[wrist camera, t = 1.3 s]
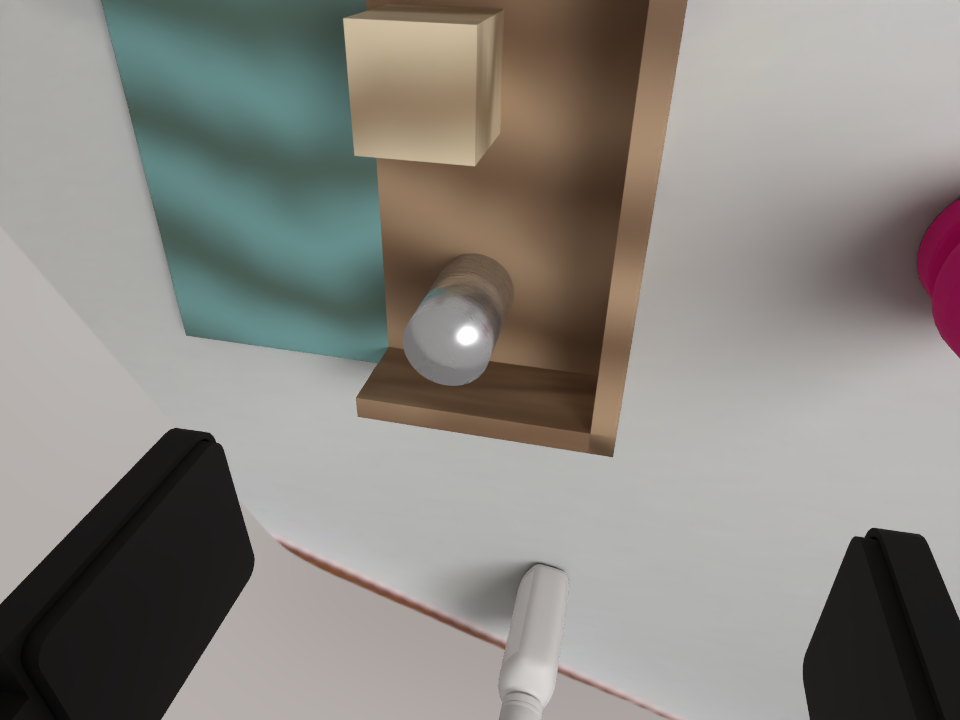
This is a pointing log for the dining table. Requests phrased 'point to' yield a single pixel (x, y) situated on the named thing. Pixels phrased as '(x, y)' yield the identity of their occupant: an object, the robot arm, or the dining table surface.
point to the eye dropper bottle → (533, 644)
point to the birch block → (425, 82)
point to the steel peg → (459, 320)
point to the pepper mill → (943, 273)
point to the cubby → (409, 199)
